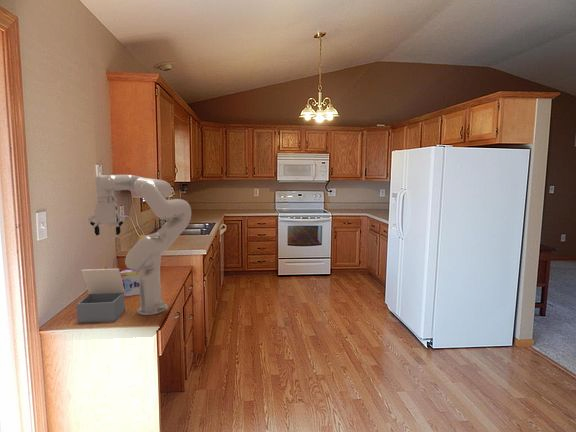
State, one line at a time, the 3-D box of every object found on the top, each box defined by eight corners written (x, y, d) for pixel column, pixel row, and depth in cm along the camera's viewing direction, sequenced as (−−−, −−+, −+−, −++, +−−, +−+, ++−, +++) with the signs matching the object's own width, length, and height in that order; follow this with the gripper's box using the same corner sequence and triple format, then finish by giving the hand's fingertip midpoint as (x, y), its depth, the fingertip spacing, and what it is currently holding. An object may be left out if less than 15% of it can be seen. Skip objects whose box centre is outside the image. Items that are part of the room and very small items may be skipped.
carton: (90, 311, 180) (89, 293, 179) (125, 310, 182) (123, 292, 181) (77, 323, 166) (76, 304, 165) (114, 321, 168) (113, 302, 167)
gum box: (148, 288, 215) (146, 266, 213) (150, 292, 208) (149, 269, 206) (102, 296, 202) (100, 272, 201) (103, 300, 196) (101, 275, 194)
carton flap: (88, 293, 179) (92, 286, 184) (124, 292, 181) (127, 284, 186) (81, 270, 172) (85, 262, 176) (118, 269, 173) (121, 261, 178)
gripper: (126, 199, 187) (128, 233, 189) (90, 200, 185) (92, 233, 187) (121, 200, 180) (123, 235, 182) (83, 201, 178) (86, 236, 180)
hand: (107, 234), depth 185 cm, fingers open, 9 cm apart
